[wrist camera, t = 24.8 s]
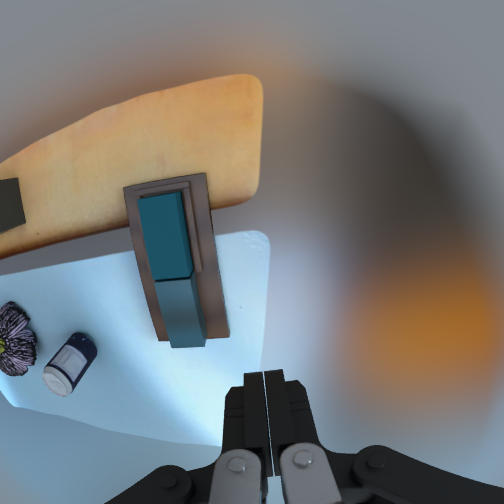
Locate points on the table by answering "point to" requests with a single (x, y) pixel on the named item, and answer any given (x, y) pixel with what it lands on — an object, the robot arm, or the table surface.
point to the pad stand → (10, 205)
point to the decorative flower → (15, 341)
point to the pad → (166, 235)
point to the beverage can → (69, 364)
